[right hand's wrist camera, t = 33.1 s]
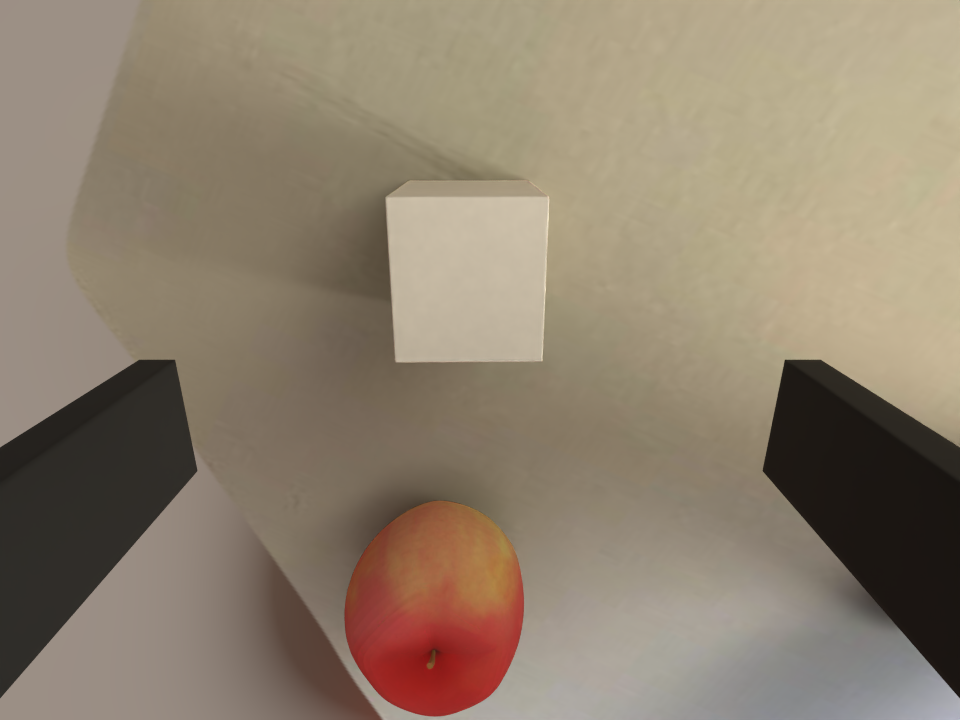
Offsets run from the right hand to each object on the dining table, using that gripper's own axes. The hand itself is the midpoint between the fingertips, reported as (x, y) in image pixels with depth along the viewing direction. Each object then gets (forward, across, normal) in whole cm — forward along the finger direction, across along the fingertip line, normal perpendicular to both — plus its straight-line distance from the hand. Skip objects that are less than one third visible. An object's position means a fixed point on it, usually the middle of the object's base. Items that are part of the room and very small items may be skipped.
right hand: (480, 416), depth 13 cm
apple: (+19, -2, -17) cm, 25 cm away
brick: (+18, -1, +1) cm, 18 cm away
